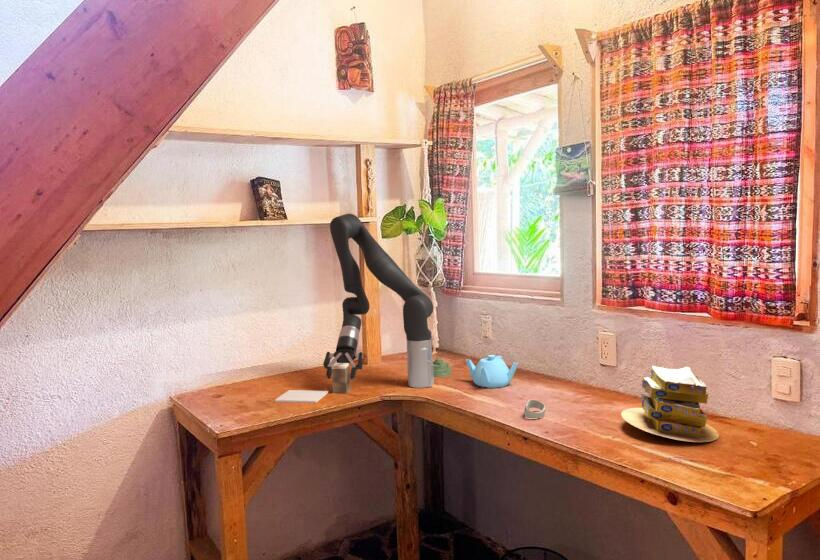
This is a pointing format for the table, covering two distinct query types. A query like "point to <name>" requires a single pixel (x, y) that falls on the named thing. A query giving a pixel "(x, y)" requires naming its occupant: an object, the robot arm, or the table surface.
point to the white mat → (301, 396)
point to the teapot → (491, 372)
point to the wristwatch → (534, 404)
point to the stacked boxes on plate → (673, 406)
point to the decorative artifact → (441, 368)
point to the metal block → (341, 378)
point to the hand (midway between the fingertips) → (340, 378)
